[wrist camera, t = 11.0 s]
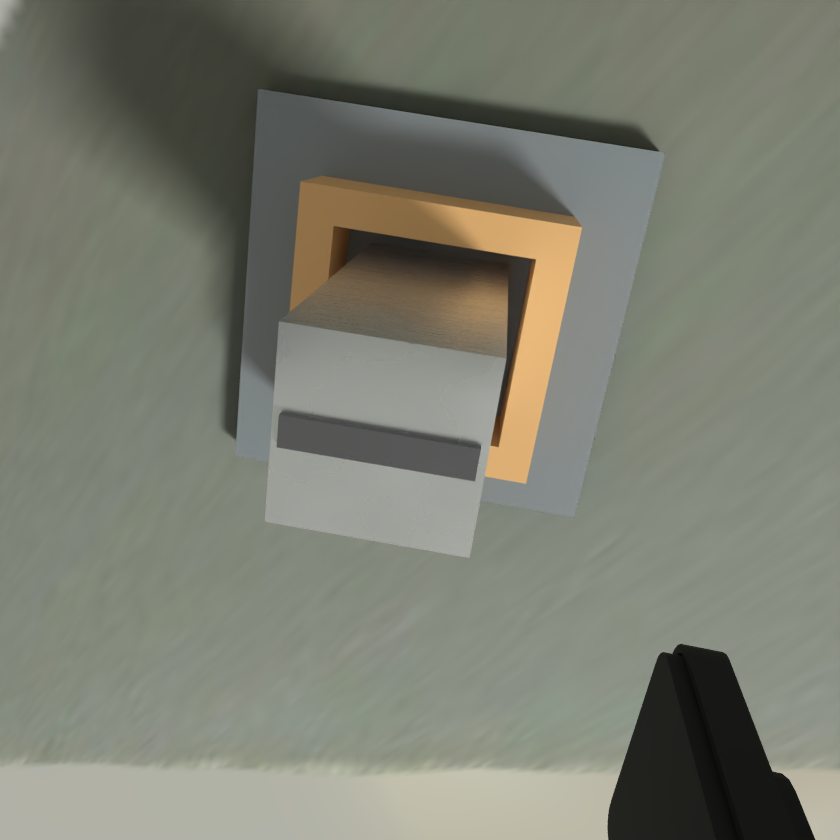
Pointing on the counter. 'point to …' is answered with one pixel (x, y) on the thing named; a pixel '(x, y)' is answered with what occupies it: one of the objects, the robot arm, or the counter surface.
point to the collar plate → (459, 236)
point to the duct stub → (390, 399)
